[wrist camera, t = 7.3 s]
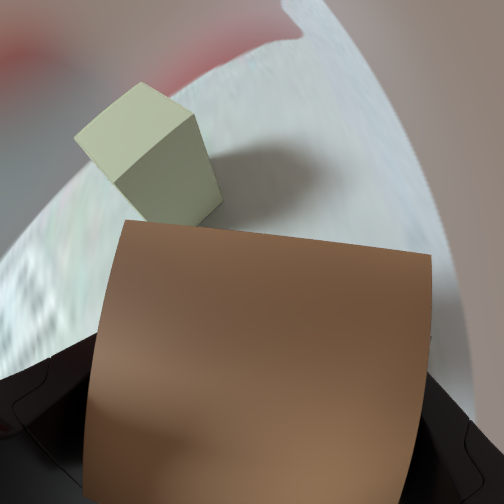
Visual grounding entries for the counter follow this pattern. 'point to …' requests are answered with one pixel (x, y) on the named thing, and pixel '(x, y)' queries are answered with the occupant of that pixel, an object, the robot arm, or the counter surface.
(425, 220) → the counter surface
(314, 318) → the walnut block
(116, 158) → the sage block
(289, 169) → the counter surface
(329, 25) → the counter surface
